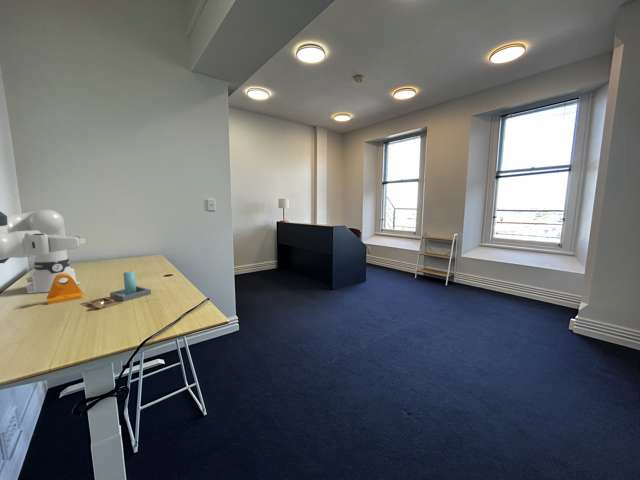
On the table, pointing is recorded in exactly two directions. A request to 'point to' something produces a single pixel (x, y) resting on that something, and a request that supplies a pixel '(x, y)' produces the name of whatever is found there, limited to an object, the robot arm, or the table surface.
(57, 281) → the bracket
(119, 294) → the tray
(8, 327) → the table surface
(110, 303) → the jig plate
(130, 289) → the dowel
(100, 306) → the bench dog
